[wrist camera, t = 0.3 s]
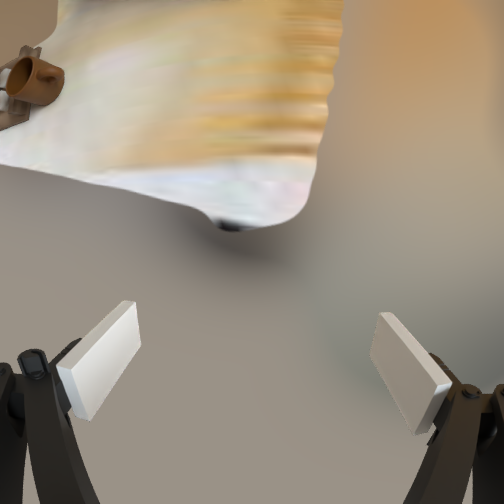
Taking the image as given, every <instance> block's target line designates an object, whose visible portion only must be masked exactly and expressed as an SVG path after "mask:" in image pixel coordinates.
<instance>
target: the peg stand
mask: <svg viewBox="0 0 504 504" xmlns="http://www.w3.org/2000/svg"><path fill="white" fill-rule="evenodd" d="M41 49H42V48H41V47H37V48H35V49H33V48H31V47H29V46H24V47H22V48H21V50H20V54H19V57H18V58H16V59H14V60H12V61H10V62H9V63H7V64H5V65H4V66H2V67H0V131H1V130H4V129H6V128H9V127H11V126H14V125H16V124H19V123H22V122H24V121H27V120H29V112H30V105H31V103H29V102H25V101H21V100H17V99H14V98H12V97H9V96H8V95H7V93H6V81H7V78H8V75H9V73H10V71H11V69H12V68H13V66H14V65H15V64H16V62H17V61H18V60H20V59H21V58H22V57H24V56H33V57H36V58H39V57H40V53H41Z"/></svg>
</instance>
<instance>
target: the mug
mask: <svg viewBox="0 0 504 504" xmlns="http://www.w3.org/2000/svg"><path fill="white" fill-rule="evenodd" d="M63 85H64V71H63V70H62V69H61V68H59V67H56V66H54V65H52V64H50V63H48V62H45V61H43V60H41V59H39V58H36V57H33V56H24V57H22V58H21V59H20V60H18V61H17V62H16V64H15V65H14V66H13V68H12V69H11V71H10V73H9V75H8V78H7V81H6V93H7V95H8V96H9V97H12V98H14V99H17V100H21V101H25V102H29V103H33V104H37V105H48V104H50V103H51V102H53V101H54V100H55V99H56V98H57V97H58V95H59V94H60V92H61V90H62V88H63Z"/></svg>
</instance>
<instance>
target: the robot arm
mask: <svg viewBox="0 0 504 504" xmlns="http://www.w3.org/2000/svg"><path fill="white" fill-rule="evenodd" d="M140 346H141V342H140V334H139V327H138V319H137V310H136V302H132V301H124V300H123V301H122V302H121V303H120V304H119V305H118V306H117V307H116V308H114V309H113V310H112V311H111V312H110V313H109V314H108V315H107V316H106V317H105V318H104V319H103V320H102V321H101V322H100V323H99V324H98V325H96V326H95V327H94V328H93V329H92V330H91V331H90V332H89V333H88V334H87V335H86V336H85V337H84V338H83V339H82V338H79V339H77V340H75V341H72V342H71V343H70V344H69V345H68V346H67V347H65V349H63V350H62V351H61V353H59V354H58V355H57V356H56V357H55V358H54V359H53V360H52V361H51V362H50V363H49V364H48V361H47V358H46V355H45V353H44V351H42V350H39V349H29V350H26V351H24V352H22V353H21V354H20V355H19V356H18V359H17V360H18V363H19V366H20V369H21V371H22V374H15V373H13V371H12V368H11V366H10V365H9V364H8V363H0V504H22V496H23V478H24V467H25V458H26V450H27V443H28V446H29V454H30V460H31V465H32V471H33V476H34V481H35V485H36V489H37V493H38V497H39V501H40V504H100V502H99V500H98V498H97V496H96V493H95V491H94V489H93V486H92V484H91V481H90V479H89V477H88V474H87V471H86V468H85V466H84V463H83V460H82V457H81V454H80V451H79V448H78V445H77V442H76V438H75V435H74V432H73V428H72V425H71V421H70V418H69V416H68V413H67V412H68V411H69V410H70V408H71V407H72V410H73V412H74V414H75V417H78V418H81V419H84V420H86V421H91V420H92V418H93V416H94V415H95V413H96V412H97V410H98V409H99V407H100V406H101V404H102V402H103V401H104V400H105V398H106V396H107V395H108V393H109V392H110V390H111V389H112V387H113V386H114V384H115V383H116V381H117V380H118V378H119V377H120V375H121V374H122V372H123V371H124V370H125V368H126V367H127V365H128V364H129V362H130V360H131V359H132V358H133V356H134V355H135V353H136V352H137V350H138V349H139V348H140ZM369 356H370V358H371V359H372V361H373V363H374V365H375V366H376V368H377V370H378V371H379V373H380V375H381V377H382V379H383V381H384V382H385V384H386V386H387V388H388V390H389V391H390V393H391V395H392V397H393V399H394V401H395V403H396V404H397V406H398V408H399V410H400V412H401V414H402V416H403V418H404V419H405V422H406V423H407V425H408V427H409V429H410V431H411V433H412V435H413V436H414V435H418V434H422V433H426V432H428V430H429V429H430V427H431V425H432V423H434V425H435V426H436V430H435V431H434V433H433V435H432V436H431V438H430V440H429V442H428V443H427V445H428V446H429V447H428V449H427V452H426V454H425V457H424V459H423V462H422V464H421V466H420V469H419V471H418V473H417V476H416V478H415V480H414V482H413V484H412V486H411V488H410V491H409V492H408V494H407V496H406V498H405V500H404V502H403V504H462V501H463V498H464V495H465V492H466V488H467V485H468V481H469V477H470V473H471V469H472V471H473V500H472V501H473V502H472V503H473V504H504V384H499V385H497V386H496V388H495V390H494V392H493V394H482V392H481V391H480V389H478V388H477V387H475V386H473V385H471V384H461V382H460V381H459V380H458V379H457V378H456V377H455V375H454V374H453V373H452V372H451V371H450V370H449V369H448V367H447V366H446V365H444V363H443V362H442V361H441V359H440V358H439V357H437V356H435V355H434V354H432V353H427V352H426V351H425V350H424V348H423V347H422V346H421V345H420V344H419V343H418V342H417V340H416V339H415V338H414V337H413V336H412V335H411V334H410V332H409V331H408V330H407V329H406V328H405V327H404V326H403V325H402V324H401V322H400V321H399V320H398V319H397V318H396V317H395V316H394V315H393V314H392V313H391V312H388V313H379V316H378V321H377V325H376V330H375V334H374V339H373V342H372V346H371V350H370V355H369Z"/></svg>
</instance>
